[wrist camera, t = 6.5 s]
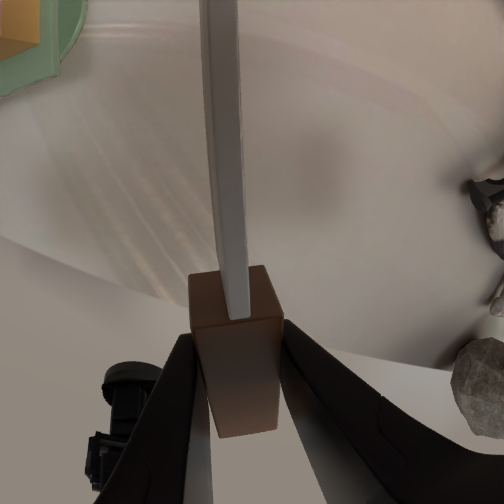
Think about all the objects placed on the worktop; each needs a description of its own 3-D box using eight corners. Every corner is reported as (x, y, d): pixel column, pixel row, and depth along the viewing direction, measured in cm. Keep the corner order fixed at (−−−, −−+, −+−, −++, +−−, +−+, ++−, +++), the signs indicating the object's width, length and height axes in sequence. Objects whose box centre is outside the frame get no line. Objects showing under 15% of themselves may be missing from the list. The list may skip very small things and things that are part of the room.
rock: (555, 417, 16) (574, 331, 22) (439, 364, 30) (479, 295, 37) (509, 465, 23) (540, 392, 29) (422, 420, 37) (463, 358, 43)
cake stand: (99, 77, 14) (53, 75, 8) (-19, 120, 12) (-82, 143, 7) (98, -61, 8) (67, -107, 3) (-21, -8, 7) (-76, -21, 2)
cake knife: (265, 385, 11) (281, 441, 9) (212, 393, 11) (221, 451, 9) (254, -55, 4) (287, -109, 2) (160, -52, 4) (150, -108, 2)
